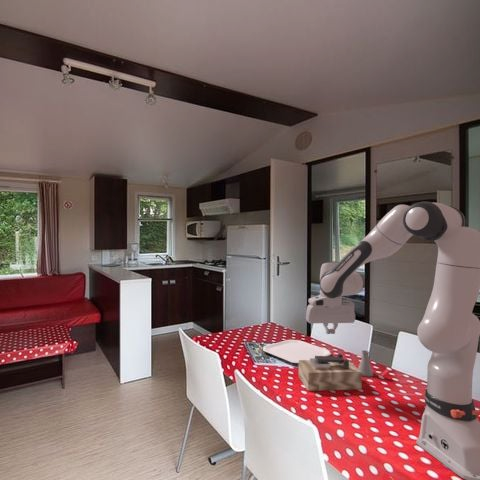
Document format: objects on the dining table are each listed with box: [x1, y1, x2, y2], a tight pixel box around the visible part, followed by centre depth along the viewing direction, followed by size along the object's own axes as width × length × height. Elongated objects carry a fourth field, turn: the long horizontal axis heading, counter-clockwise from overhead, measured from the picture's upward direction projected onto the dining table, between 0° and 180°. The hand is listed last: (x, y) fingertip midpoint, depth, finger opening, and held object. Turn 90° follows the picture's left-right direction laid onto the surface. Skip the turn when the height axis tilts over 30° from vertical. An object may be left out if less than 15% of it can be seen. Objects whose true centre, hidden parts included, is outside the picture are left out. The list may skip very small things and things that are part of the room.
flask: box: [357, 350, 374, 378], centre depth 142 cm, size 7×7×10 cm
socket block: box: [297, 353, 363, 392], centre depth 132 cm, size 22×13×10 cm, turn 96°
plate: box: [262, 339, 332, 365], centre depth 165 cm, size 29×29×2 cm
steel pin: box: [310, 358, 330, 369], centre depth 131 cm, size 6×6×8 cm
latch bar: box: [315, 355, 344, 363], centre depth 132 cm, size 12×4×1 cm, turn 96°
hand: (330, 333), depth 132 cm, fingers closed
